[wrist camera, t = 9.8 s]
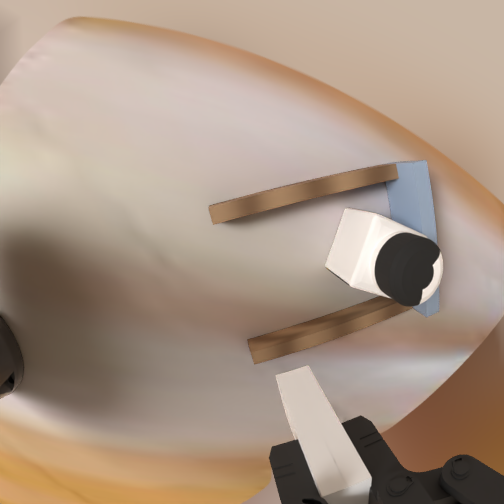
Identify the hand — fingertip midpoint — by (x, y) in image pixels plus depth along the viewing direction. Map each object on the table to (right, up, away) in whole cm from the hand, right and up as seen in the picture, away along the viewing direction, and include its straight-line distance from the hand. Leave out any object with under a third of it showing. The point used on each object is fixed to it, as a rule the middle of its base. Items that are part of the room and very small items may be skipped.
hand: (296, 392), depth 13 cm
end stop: (+16, +9, +21) cm, 28 cm away
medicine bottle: (+10, +7, +21) cm, 25 cm away
